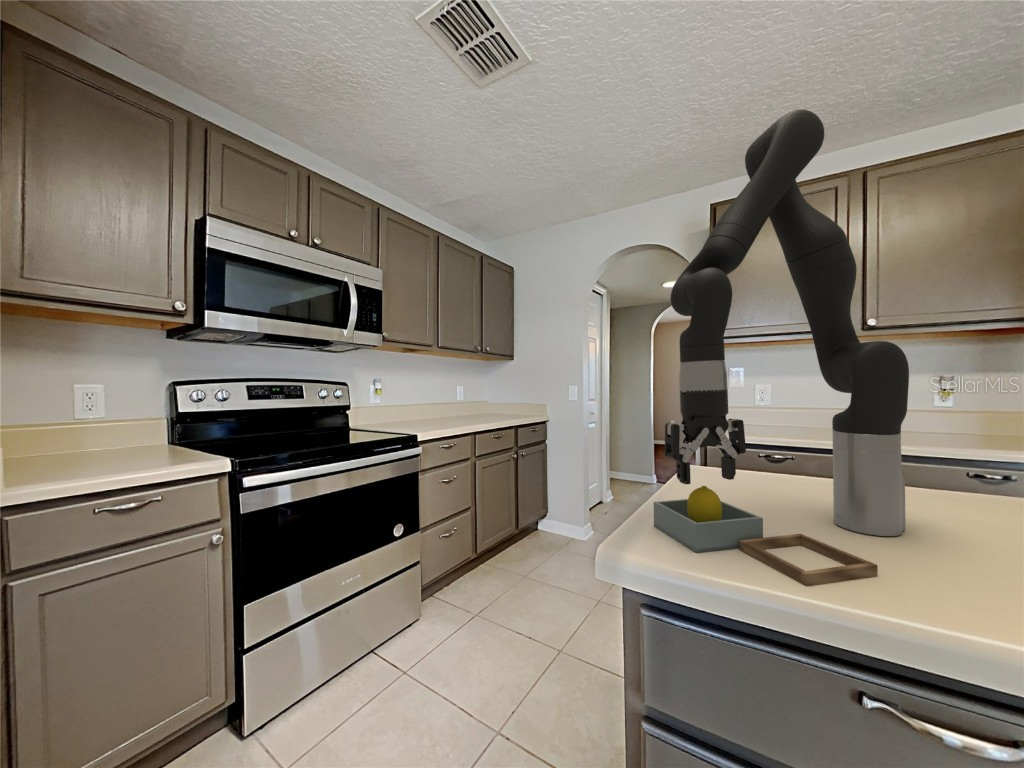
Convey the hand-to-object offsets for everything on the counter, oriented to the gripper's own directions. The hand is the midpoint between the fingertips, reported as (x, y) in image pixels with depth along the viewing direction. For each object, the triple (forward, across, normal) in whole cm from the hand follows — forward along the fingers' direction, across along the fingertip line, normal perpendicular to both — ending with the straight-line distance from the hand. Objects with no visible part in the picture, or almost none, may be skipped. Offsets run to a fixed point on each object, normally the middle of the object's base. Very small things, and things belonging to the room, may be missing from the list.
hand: (706, 481), depth 70 cm
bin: (+10, 0, 0) cm, 10 cm away
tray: (+10, -6, +12) cm, 17 cm away
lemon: (+9, +1, 0) cm, 9 cm away
